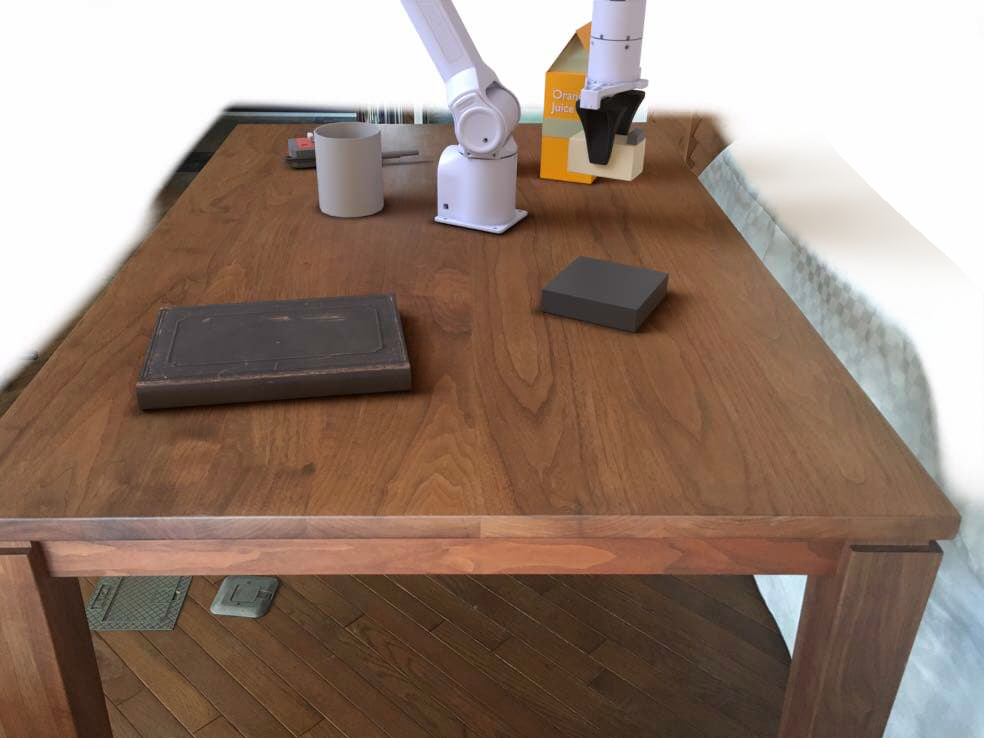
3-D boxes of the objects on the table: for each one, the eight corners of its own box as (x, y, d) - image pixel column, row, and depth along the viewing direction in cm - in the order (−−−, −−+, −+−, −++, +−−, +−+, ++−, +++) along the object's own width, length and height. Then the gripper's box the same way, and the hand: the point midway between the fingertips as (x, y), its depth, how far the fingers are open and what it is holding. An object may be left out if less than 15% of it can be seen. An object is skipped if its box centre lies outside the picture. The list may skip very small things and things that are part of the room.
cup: (308, 212, 117) (301, 135, 112) (338, 193, 124) (333, 119, 119) (366, 220, 115) (362, 141, 109) (393, 200, 121) (391, 125, 116)
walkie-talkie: (286, 174, 131) (420, 163, 135) (283, 143, 129) (419, 134, 133) (281, 157, 139) (408, 147, 143) (278, 128, 136) (407, 119, 140)
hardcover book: (164, 328, 89) (160, 307, 88) (395, 313, 92) (394, 292, 90) (139, 413, 76) (134, 389, 74) (411, 393, 78) (411, 370, 77)
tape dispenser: (566, 171, 108) (570, 115, 104) (579, 162, 111) (584, 107, 108) (631, 181, 105) (637, 123, 101) (642, 171, 108) (648, 115, 104)
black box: (540, 311, 92) (541, 288, 91) (577, 276, 99) (579, 255, 98) (634, 332, 88) (637, 309, 86) (666, 295, 95) (669, 273, 94)
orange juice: (539, 177, 129) (546, 28, 119) (556, 160, 136) (565, 18, 126) (592, 184, 127) (604, 32, 116) (607, 166, 134) (620, 22, 123)
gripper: (629, 50, 93) (617, 180, 100) (671, 29, 104) (657, 147, 111) (565, 44, 96) (558, 171, 103) (612, 24, 106) (602, 140, 114)
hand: (605, 158), depth 107 cm, fingers closed on tape dispenser, 4 cm apart
